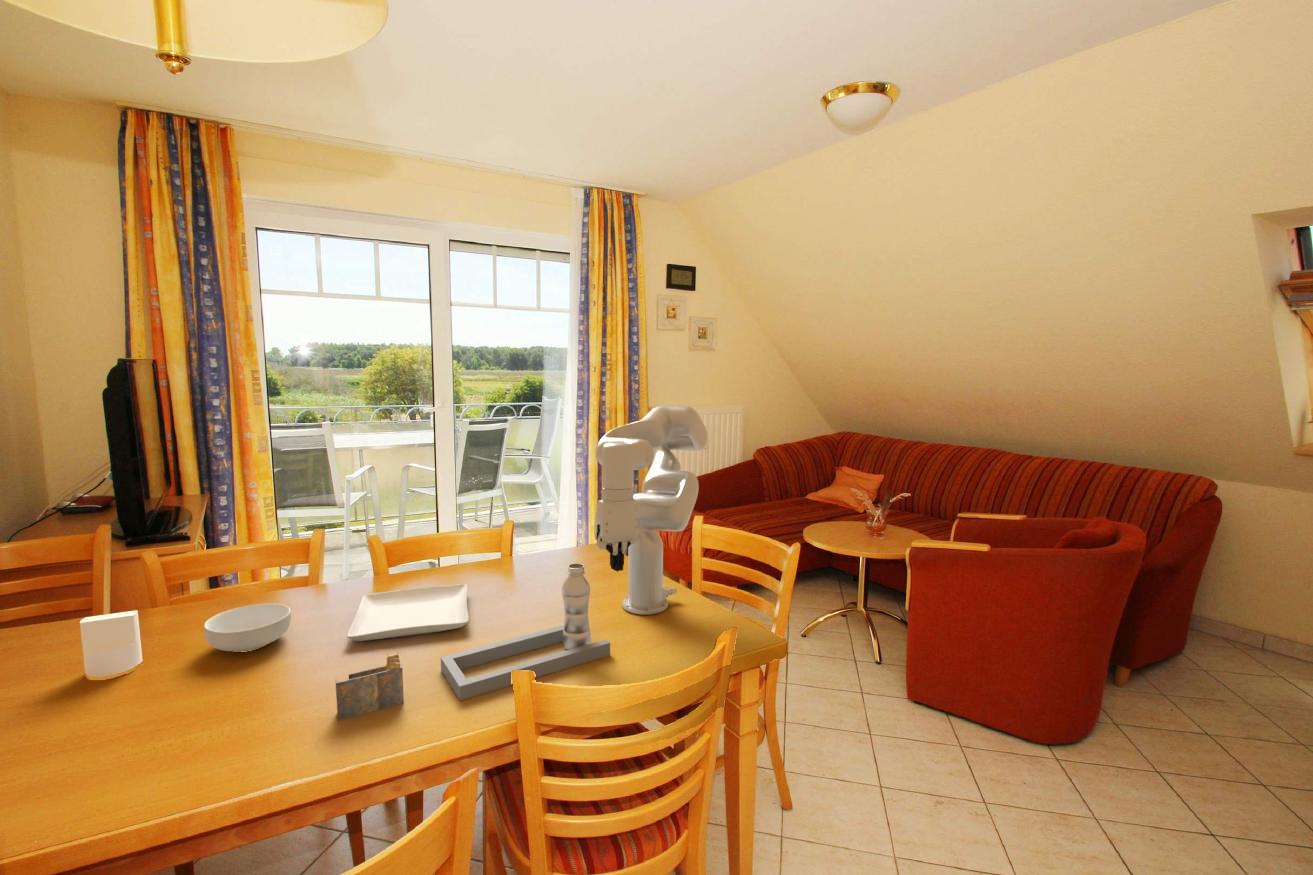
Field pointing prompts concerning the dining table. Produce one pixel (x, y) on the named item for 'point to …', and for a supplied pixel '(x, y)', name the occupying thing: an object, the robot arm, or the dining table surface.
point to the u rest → (502, 677)
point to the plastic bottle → (576, 608)
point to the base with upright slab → (111, 643)
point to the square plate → (410, 612)
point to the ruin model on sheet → (370, 689)
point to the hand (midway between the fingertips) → (616, 569)
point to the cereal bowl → (247, 627)
